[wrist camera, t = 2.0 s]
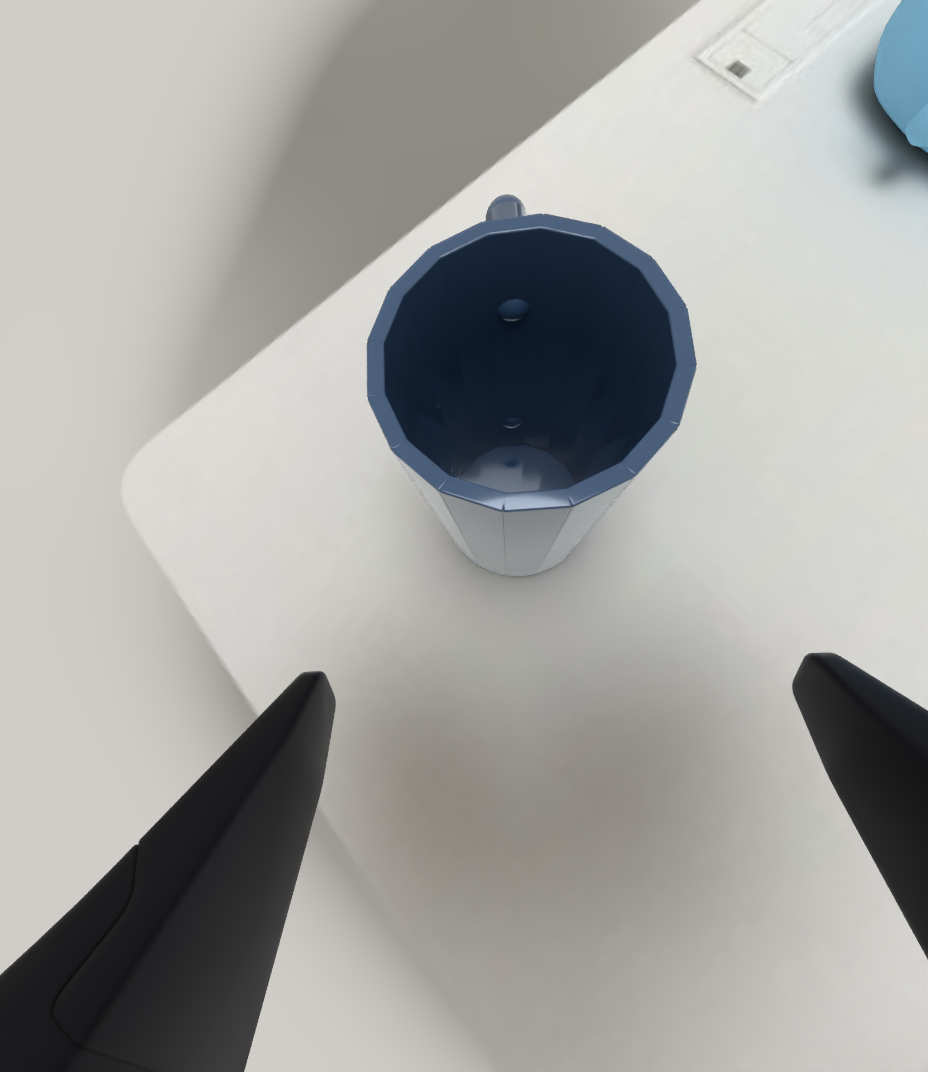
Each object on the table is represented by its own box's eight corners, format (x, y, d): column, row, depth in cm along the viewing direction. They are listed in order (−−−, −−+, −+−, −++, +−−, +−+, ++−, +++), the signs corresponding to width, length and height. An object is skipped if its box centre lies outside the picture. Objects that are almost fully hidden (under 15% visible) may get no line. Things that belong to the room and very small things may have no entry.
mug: (593, 572, 21) (720, 496, 8) (450, 580, 22) (367, 522, 9) (573, 379, 23) (650, 81, 10) (442, 391, 24) (364, 124, 11)
